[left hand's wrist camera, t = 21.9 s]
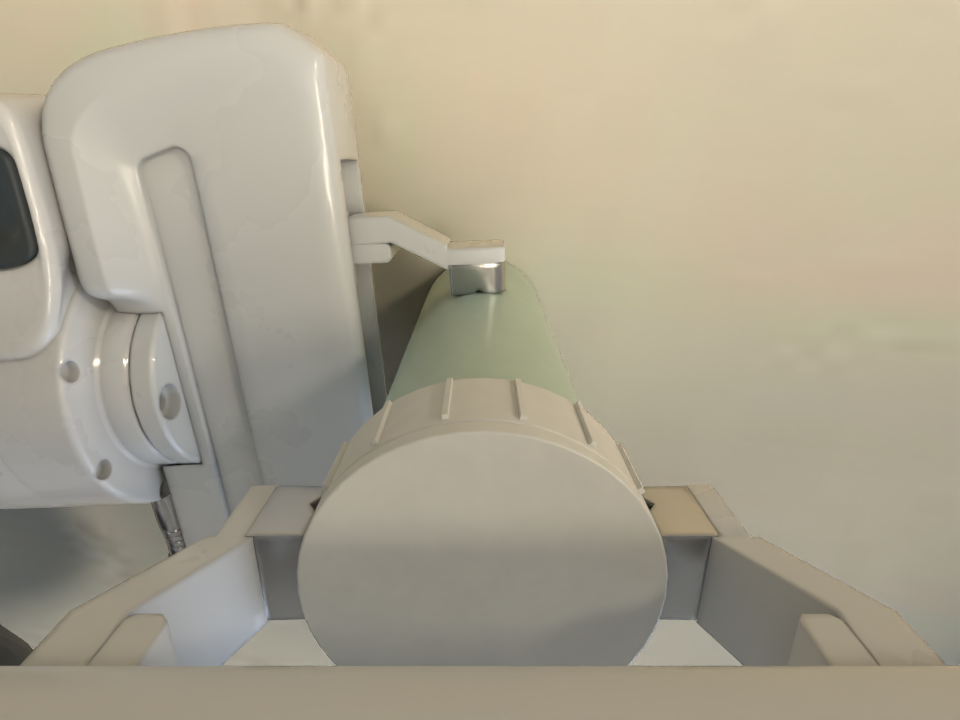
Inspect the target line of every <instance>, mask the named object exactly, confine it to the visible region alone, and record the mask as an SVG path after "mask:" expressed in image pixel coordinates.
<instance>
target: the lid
mask: <svg viewBox="0 0 960 720" xmlns="http://www.w3.org/2000/svg"><path fill="white" fill-rule="evenodd" d="M321 490H323V491H324V493H323V495H322V497H321V499H320V501H319V504H318V506H317V508H316V510H315V512H314V514H313V517H312V519H311V521H310V523H309V525H308V527H307V529H306V532H305V534H304V537H303V540H302V544H301V548H300V551H299V557H298V566H297V583H298V594H299V599H300V603H301V607H302V611H303V614H304V616H305V619H306V621H307V624H308V626H309V629H310V630H311V632H312V634H313V635H314V637H315V639H316V640H317V642H318V644H319V645H320V647H321V648H322V649H323V650H324V652H325V653H326V654H327V655H328V657H329V658H330V659H331V660H332V661H333V662H334V663H335V664H336V665H337V666H628V665H629V664H630V663H631V662H632V661H633V659H634V658H635V657H636V656H637V655H638V653H639V652H640V651H641V650H642V649H643V647H644V646H645V644H646V643H647V641H648V639H649V638H650V636H651V635H652V633H653V631H654V629H655V627H656V625H657V622H658V620H659V618H660V615H661V613H662V609H663V605H664V601H665V597H666V589H667V578H668V572H667V560H666V553H665V549H664V545H663V541H662V538H661V535H660V533H659V531H658V528H657V526H656V524H655V521H654V519H653V517H652V515H651V513H650V511H649V509H648V507H647V505H646V502H645V500H644V498H643V496H642V494H643V493H645V490H644V488H643V486H642V484H641V482H640V480H639V478H638V476H637V474H636V472H635V470H634V468H633V466H632V463H631V461H630V459H629V457H628V455H627V453H626V451H625V449H624V447H623V446H622V444H621V443H619V444H618V445H617V444H616V443H615V441H614V440H613V438H612V437H611V436H610V435H609V434H608V432H607V431H606V430H605V429H604V428H603V427H602V426H601V424H600V423H599V422H597V421H596V420H595V419H594V418H593V417H592V416H590V415H589V414H588V413H587V412H586V411H585V410H584V409H583V407H582V404H580V403H579V402H576V403H575V404H574V403H572V402H571V401H569V400H568V399H566V398H563V397H561V396H559V395H557V394H555V393H553V392H551V391H549V390H546V389H543V388H540V387H537V386H533V385H530V384H527V383H522V382H521V379H518V378H515V380H514V381H512V380H506V379H493V378H471V379H459V380H453V378H447V379H446V382H441V383H437V384H434V385H431V386H427V387H424V388H421V389H418V390H416V391H414V392H411V393H409V394H407V395H405V396H402V397H400V398H398V399H397V400H395V401H394V402H391V401H390V400H388V401H387V402H385V404H384V407H383V408H382V409H381V410H380V411H378V412H377V413H376V414H375V415H374V416H372V417H371V418H370V419H369V420H368V421H366V422H365V424H364V425H363V426H362V427H361V428H360V429H359V430H358V431H357V432H356V433H355V434H354V436H353V437H352V439H351V440H350V442H349V443H348V442H347V441H344V443H343V444H342V446H341V448H340V450H339V452H338V454H337V456H336V458H335V461H334V463H333V465H332V467H331V469H330V471H329V473H328V475H327V477H326V479H325V481H324V483H323V486H322V488H321Z"/></svg>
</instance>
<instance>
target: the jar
mask: <svg viewBox="0 0 960 720" xmlns="http://www.w3.org/2000/svg"><path fill="white" fill-rule="evenodd" d="M505 270H506V291H504V292H501V293H494V294H485V293H484V292H482V291H480V290H477V291H476V292H475V293H473V294H470V295H451V286H450V275H449V269H448V270H445V271H444V272H443V273H442V274H441V275H440V276H439V277H438V278H437V279H436V281H435V282H434V283H433V285H432V287H431V288H430V290H429V293H428V295H427V298H426V300H425V303H424V305H423V308H422V310H421V313H420V315H419V318H418V320H417V323H416V325H415V328H414V331H413V333H412V336H411V338H410V341H409V343H408V346H407V348H406V351H405V353H404V356H403V358H402V361H401V363H400V366H399V368H398V371H397V373H396V376H395V378H394V381H393V384H392V386H391V389H390V391H389V394H388V396H387V399H386V401H385V402H387V401H388V400H390V401H391V402H394V401H395V400H397V399H398V398H400V397H402V396H405V395H407V394H409V393H411V392H414V391H416V390H418V389H421V388H424V387H427V386H431V385H434V384H437V383H441V382H446V379H447V378H453V380H459V379H471V378H493V379H506V380H512V381H514V380H515V378H518V379H521V382H522V383H527V384H530V385H533V386H537V387H540V388H543V389H546V390H549V391H551V392H553V393H555V394H557V395H559V396H561V397H563V398H566V399H568V400H569V401H571V402H572V403H574V404H575V403H576V402H579V400H578V397H577V395H576V392H575V390H574V387H573V385H572V382H571V380H570V377H569V375H568V372H567V369H566V367H565V364H564V362H563V359H562V357H561V354H560V352H559V349H558V347H557V344H556V341H555V339H554V336H553V334H552V331H551V329H550V326H549V324H548V321H547V319H546V316H545V313H544V311H543V308H542V306H541V303H540V301H539V298H538V296H537V293H536V291H535V289H534V287H533V285H532V283H531V282H530V281H529V279H528V278H527V277H526V276H525V275H524V274H523V273H522V272H521V271H520V270H518V269H517V268H516V267H514V266H512V265H511V264H509V263H507V262H505ZM383 407H384V406H383Z"/></svg>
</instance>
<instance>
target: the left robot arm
mask: <svg viewBox="0 0 960 720" xmlns="http://www.w3.org/2000/svg"><path fill="white" fill-rule="evenodd" d="M321 488H322V486H291V485H281V486H278V485H255V486H252V487H250V488H249V489H248V491H247V492H246V494H245V495H244V496H243V498H242V499H241V501H240V502H239V503H238V505H237V506H236V507H235V509H234V510H233V512H232V513H231V514H230V516H229V517H228V519H227V520H226V521H225V523H224V524H223V525H222V527H221V528H220V530H219V531H218V532H217V534H216V535H215V537H205V538H203V539H202V540H200V541H198V542H196V543H194V544H192V545H191V546H189V547H187V548H185V549H183V550H181V551H180V552H178V553H176V554H174V555H172V556H170V557H168V558H167V559H165V560H163V561H161V562H159V563H157V564H156V565H154V566H152V567H150V568H148V569H146V570H145V571H143V572H141V573H139V574H137V575H135V576H134V577H132V578H130V579H128V580H126V581H124V582H123V583H121V584H119V585H117V586H115V587H113V588H112V589H110V590H108V591H106V592H104V593H102V594H101V595H99V596H97V597H95V598H93V599H91V600H90V601H88V602H86V603H84V604H82V605H80V606H79V607H77V608H75V609H73V610H71V611H69V613H68V614H67V615H66V616H65V617H64V618H63V619H62V620H61V621H60V622H59V623H58V624H57V626H56V627H55V628H54V629H53V630H52V631H51V632H50V633H49V634H48V635H47V636H46V637H45V639H44V640H43V641H42V642H41V643H40V644H39V645H38V646H37V647H36V648H35V649H34V650H33V652H32V653H31V654H30V655H29V656H28V657H27V658H26V659H25V660H24V661H23V662H22V663H21V665H20V666H0V720H960V666H947V665H946V664H945V663H944V662H943V661H942V660H941V659H940V658H939V657H938V655H937V654H936V653H935V652H934V651H933V650H932V649H931V648H930V647H929V646H928V645H927V644H926V643H925V641H924V640H923V639H922V638H921V637H920V636H919V635H918V634H917V633H916V632H915V631H914V630H913V629H912V628H911V626H910V625H909V624H908V623H907V622H906V621H905V620H904V619H903V618H902V617H901V616H900V615H899V614H898V612H896V611H894V610H892V609H890V608H889V607H887V606H885V605H883V604H881V603H879V602H877V601H876V600H874V599H872V598H870V597H868V596H866V595H865V594H863V593H861V592H859V591H857V590H855V589H853V588H852V587H850V586H848V585H846V584H844V583H842V582H841V581H839V580H837V579H835V578H833V577H831V576H830V575H828V574H826V573H824V572H822V571H820V570H818V569H817V568H815V567H813V566H811V565H809V564H807V563H806V562H804V561H802V560H800V559H798V558H796V557H794V556H793V555H791V554H789V553H787V552H785V551H783V550H782V549H780V548H778V547H776V546H774V545H772V544H771V543H769V542H767V541H765V540H763V539H761V538H759V537H750V536H749V534H748V533H747V532H746V530H745V529H744V528H743V526H742V525H741V524H740V522H739V521H738V520H737V518H736V517H735V515H734V514H733V513H732V511H731V510H730V509H729V507H728V506H727V505H726V503H725V502H724V501H723V499H722V498H721V497H720V495H719V494H718V492H717V491H716V490H715V488H714V487H712V486H710V485H689V486H661V487H643V488H644V490H645V493H643V494H642V496H643V498H644V500H645V502H646V505H647V507H648V509H649V511H650V513H651V515H652V517H653V519H654V521H655V524H656V526H657V528H658V531H659V533H660V535H661V538H662V541H663V545H664V549H665V553H666V560H667V572H668V578H667V589H666V597H665V601H664V605H663V609H662V613H661V615H660V618H659V619H675V620H697V623H698V624H699V625H700V626H701V627H702V628H703V629H704V630H705V631H707V632H708V633H709V634H710V635H711V636H712V637H713V638H714V639H715V640H716V641H717V642H719V643H720V644H721V645H722V646H723V647H724V648H725V649H726V650H727V651H728V652H729V653H730V654H732V655H733V656H734V657H735V658H736V659H737V660H738V661H739V662H740V663H741V664H742V665H744V666H221V665H222V664H224V663H225V662H226V661H227V660H228V659H229V658H230V657H231V656H232V655H233V654H234V653H235V652H237V651H238V650H239V649H240V648H241V647H242V646H243V645H244V644H245V643H246V642H247V641H248V640H249V639H251V638H252V637H253V636H254V635H255V634H256V633H257V632H258V631H259V630H260V629H261V628H262V627H264V626H265V625H266V624H267V623H268V622H267V620H288V619H305V616H304V614H303V611H302V607H301V603H300V599H299V594H298V583H297V566H298V557H299V551H300V548H301V544H302V540H303V537H304V534H305V532H306V529H307V527H308V525H309V523H310V521H311V519H312V517H313V514H314V512H315V510H316V508H317V506H318V504H319V501H320V499H321V497H322V495H323V493H324V491H323V490H321Z"/></svg>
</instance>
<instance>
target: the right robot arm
mask: <svg viewBox="0 0 960 720" xmlns="http://www.w3.org/2000/svg"><path fill="white" fill-rule="evenodd" d="M401 248H402V249H405V250H407V251H409V252H411V253H413V254H415V255H417V256H419V257H421V258H423V259H425V260H427V261H429V262H431V263H434V264H436V265H438V266H440V267H442V268H444V269H446V270H448V269H449V275H450V286H451V295H470V294H473V293H475V292H476V291H477V290H480V291H482V292H484V293H485V294H494V293H501V292H504V291H506V270H505V244H504V241H501V240H477V241H456V242H450V238H449V237H447V236H445V235H443V234H441V233H439V232H437V231H436V230H434V229H432V228H430V227H428V226H426V225H424V224H422V223H420V222H418V221H416V220H415V219H413V218H411V217H409V216H407V215H405V214H403V213H401V212H399V211H381V212H365V206H364V198H363V189H362V181H361V173H360V164H359V156H358V148H357V139H356V131H355V122H354V114H353V105H352V97H351V88H350V81H349V76H348V73H347V71H346V69H345V68H344V66H343V65H342V64H341V63H340V62H339V61H338V60H337V59H336V58H335V57H334V56H333V55H332V54H331V53H330V52H329V51H328V50H327V49H326V48H324V47H323V46H322V45H321V44H320V43H319V42H317V41H316V40H315V39H313V38H312V37H310V36H309V35H307V34H306V33H304V32H302V31H301V30H298V29H296V28H294V27H291V26H288V25H284V24H278V23H252V24H240V25H230V26H221V27H213V28H206V29H198V30H192V31H185V32H180V33H175V34H169V35H164V36H158V37H153V38H149V39H144V40H140V41H136V42H132V43H127V44H123V45H119V46H115V47H111V48H108V49H105V50H102V51H98V52H95V53H93V54H90V55H88V56H86V57H84V58H82V59H80V60H78V61H76V62H75V63H73V64H72V65H70V66H69V67H68V68H66V69H65V70H64V71H63V72H62V73H61V74H60V75H59V76H58V77H57V78H56V79H55V81H54V82H53V84H52V85H51V87H50V89H49V91H48V93H47V95H34V94H14V93H0V509H23V508H46V507H70V506H91V505H116V504H140V503H151V505H152V508H153V511H154V514H155V518H156V521H157V523H158V526H159V528H160V530H161V532H162V534H163V535H164V538H165V540H166V543H167V546H168V550H169V555H168V556H169V557H170V556H172V555H174V554H176V553H178V552H180V551H181V550H183V549H185V548H187V547H189V546H191V545H192V544H194V543H196V542H198V541H200V540H202V539H203V538H205V537H215V535H216V534H217V532H218V531H219V530H220V528H221V527H222V525H223V524H224V523H225V521H226V520H227V519H228V517H229V516H230V514H231V513H232V512H233V510H234V509H235V507H236V506H237V505H238V503H239V502H240V501H241V499H242V498H243V496H244V495H245V494H246V492H247V491H248V489H249V488H250V487H252V486H255V485H278V486H281V485H291V486H323V483H324V481H325V479H326V477H327V475H328V473H329V471H330V469H331V467H332V465H333V463H334V461H335V458H336V456H337V454H338V452H339V450H340V448H341V446H342V444H343V443H344V441H347V442H348V443H349V442H350V440H351V439H352V437H353V436H354V434H355V433H356V432H357V431H358V430H359V429H360V428H361V427H362V426H363V425H364V424H365V422H366V421H368V420H369V419H370V418H371V417H372V416H374V415H375V414H376V413H377V412H378V411H380V410H381V409H382V408H383V406H384V404H385V401H386V399H387V391H386V382H385V374H384V366H383V357H382V349H381V340H380V332H379V324H378V315H377V307H376V298H375V290H374V282H373V273H372V265H371V264H373V263H388V262H389V261H390V260H391V259H392V258H393V257H394V256H395V255H396V254H397V253H398V251H399V250H400V249H401ZM303 620H306V619H303ZM32 652H33V649H32V648H31V647H30V646H29V645H28V644H27V643H26V642H25V641H24V640H22V639H21V638H19V637H18V636H16V635H15V634H13V633H12V632H10V631H9V630H7V629H6V628H5V627H3V626H2V625H0V666H20V665H21V663H22V662H23V661H24V660H25V659H26V658H27V657H28V656H29V655H30V654H31V653H32Z"/></svg>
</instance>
